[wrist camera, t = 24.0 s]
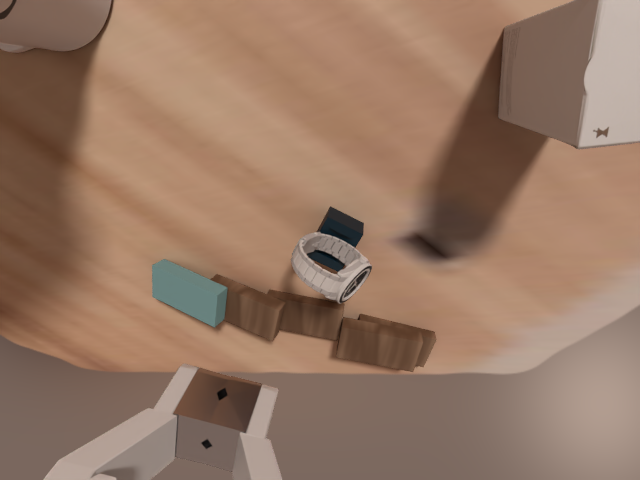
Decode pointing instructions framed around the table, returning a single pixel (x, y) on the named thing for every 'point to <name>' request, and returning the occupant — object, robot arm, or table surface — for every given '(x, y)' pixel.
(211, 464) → the robot arm
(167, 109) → the table surface
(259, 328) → the walnut domino
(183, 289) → the teal domino
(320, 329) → the walnut domino
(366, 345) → the walnut domino
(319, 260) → the watch
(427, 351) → the walnut domino
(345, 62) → the table surface
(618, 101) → the skincare box
